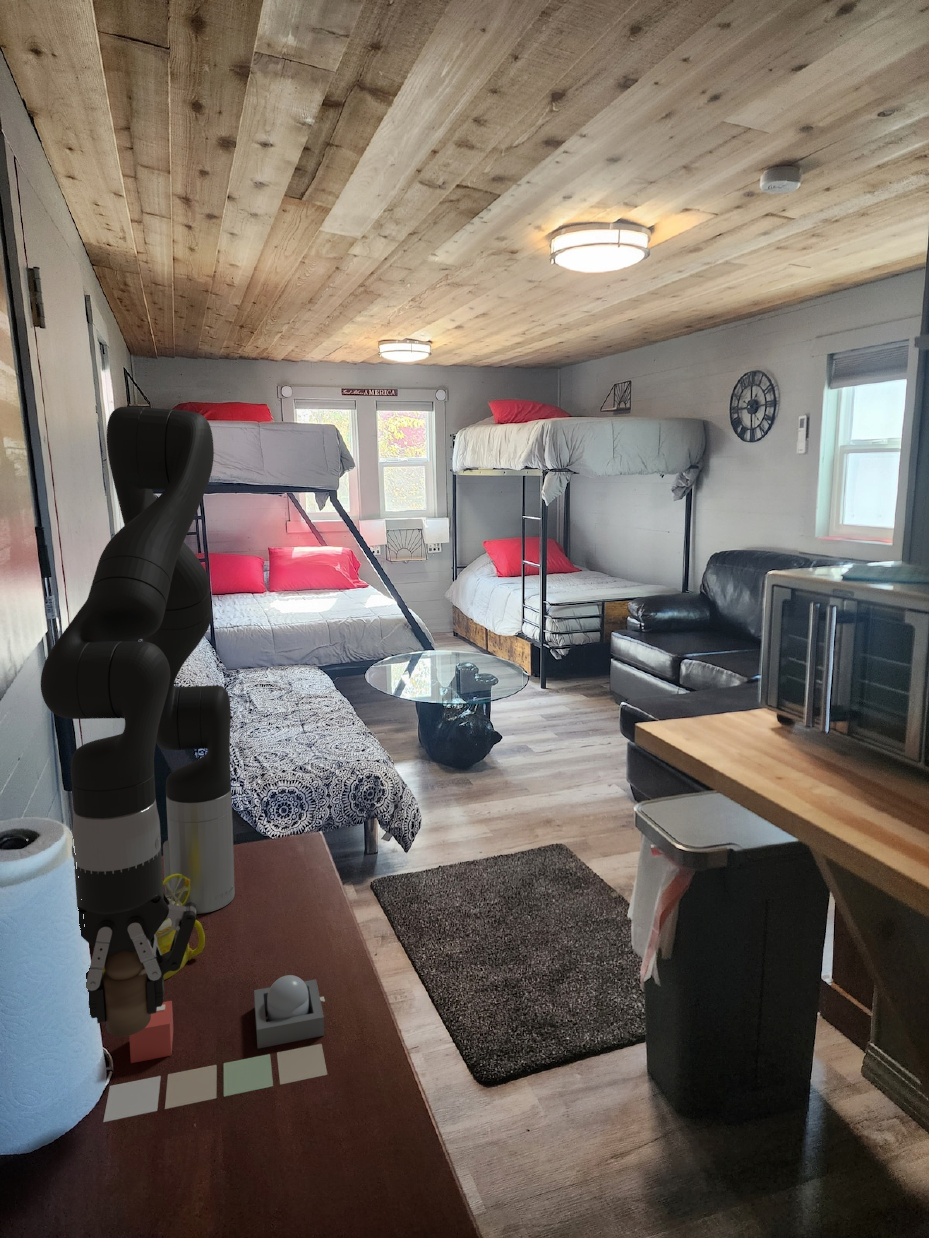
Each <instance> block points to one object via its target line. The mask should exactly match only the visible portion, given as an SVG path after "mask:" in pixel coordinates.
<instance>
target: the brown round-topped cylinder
mask: <svg viewBox="0 0 929 1238" xmlns="http://www.w3.org/2000/svg"><path fill="white" fill-rule="evenodd" d="M147 978H148V975H147V972H146V970H145V967H144V965H143V963H141V961H140V959H139V956H138V954H137V951H133V952H130V951H121V952H119V953H116V954H113V955H107V956H106V960H105V972H104V974H103V985H104V997H105V1012H106V1022H105V1025H106V1026H105V1029H106V1031H107V1033H108V1034H110V1035H111V1036H113V1037H119V1038H122V1037H129V1035H133V1034H135V1033H137V1032H139V1031H141V1030H142V1029H144V1028H145V1027H146V1026H147V1025H148V1024H149V1022H150V1020H151V1014H148V999H147Z"/></svg>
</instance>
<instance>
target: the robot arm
mask: <svg viewBox="0 0 929 1238" xmlns="http://www.w3.org/2000/svg"><path fill="white" fill-rule="evenodd" d="M106 448H107V449H106V451H107V457H108V463H109V467H110V472H111V476H112V480H113V485H114V489H115V493H116V497H117V501H118V504H119V505H118V506H119V508H120V513H121V517H122V522H123V524H124V525H123V526H122V527H121V528H120V530H118V531H117V532H116V533H115V534H114V535H113V536H112V537H111V539H109V541H108V543H106V545H105V548H104V549H103V551H102V553H101V554H100V557H99V560H98V562H97V566H96V568H95V573H94V576H93V579H92V582H91V586H90V589H89V593H88V597H87V599H86V601H85V602H84V604H83V605H82V606H81V607H80V609H79V610H78V611H77V612H76V615H75V616H74V617H73V619H72V620H71V621H70V623H69V624H68V626H67V627H66V628H65V629H64V631H63V632H62V633H61V635H60V636H59V637H58V639H57V641H56V642H55V643H54V645H53V646H52V648H51V649H50V651H49V653H48V655H47V657H46V660H45V661H44V664H43V667H42V671H41V676H40V692H41V696H42V699H43V702H44V703H45V704H46V706H47V708H48V709H49V710H50V711H51V712H52V713H53V714H54V715H56V716H58V717H60V718H64V719H71V720H84V719H85V720H86V719H87V720H88V719H89V720H90V719H91V720H92V719H94V720H95V719H124V728H123V732H122V733H119V734H116V735H112V736H108V737H107V736H106V737H104V738H103V737H102V738H100V739H99V738H98V739H96V740H92V741H89V742H87V743H84V744H82V745H81V746H79V747H78V748H77V749H76V750H74V752H73V754H72V756H71V760H70V778H71V792H72V806H73V807H72V808H73V820H72V832H71V833H72V835H71V838H72V836H73V838H72V841H73V839H74V846H75V853H76V855H75V853H74V848H73V844H72V845H71V854H72V855H71V856H72V858H73V867H74V866H75V869H74V879H75V881H74V882H75V893H76V894H75V895H76V908H77V907H78V909H79V910H78V911H79V924H80V925H79V926H80V928H81V929H80V930H81V936H80V937H81V938H82V939H83V940H84V941H85V942H87V943H88V944H89V945H90V946H91V947H92V948H93V953H92V956H91V960H90V963H89V964H90V965H89V966H90V968H89V971H88V972H87V973H86V979H87V982H86V988H87V989H88V990H87V989H86V988H85V989H86V990H87V993H88V992H89V1001H88V1009H89V1008H90V1014H89V1016H90V1015H91V1016H90V1018H91V1019H96V1023H97V1024H103V1023H106V1012H105V997H104V985H103V969H104V965H105V960H106V956H107V955H113V954H116V953H119V952H121V951H130V952H133V951H137V954H138V956H139V959H140V961H141V963H143V965H144V967H145V970H146V972H147V975H148V978H147V999H148V1014H154V1013H156V1011H157V1007H160V1006H162V1004H163V1002H164V999H165V980H164V974H165V973H167V972H168V971H176V970H178V969H179V968H180V966H181V963H182V960H183V957H184V954H185V951H186V948H187V945H188V942H189V943H190V939H191V935H192V933H193V930H194V928H195V927H194V924H195V921H196V920H197V919H196V918H197V915H198V914H199V915H200V914H207V913H211V912H214V911H217V910H219V909H223V908H224V907H226V906H227V905H229V904H230V903H231V902H232V901H233V899H234V898H235V894H236V893H235V863H234V862H235V861H234V859H235V857H234V835H233V834H234V833H233V831H234V830H233V806H232V804H233V803H232V802H233V801H232V779H231V777H232V776H231V756H230V755H231V752H230V749H231V748H230V746H231V720H232V719H231V701H230V695H229V693H228V691H227V689H226V688H225V687H224V686H222V685H193V686H175V682H176V679H177V677H178V674H179V672H180V671H181V669H182V667H183V665H184V664H185V662H186V661H187V659H188V658H189V657H190V656H191V655H192V654H193V652H194V651H195V650H196V648H197V647H198V646H199V644H200V643H201V641H202V640H203V639H204V636H205V635H206V633H207V631H208V629H209V628H210V624H211V622H212V615H213V614H212V613H213V612H212V600H211V589H210V580H209V576H208V572H207V571H206V568H205V566H204V565H203V564H202V562H201V561H200V559H199V558H198V556H197V555H196V554H195V553H194V551H192V549H191V548H190V547H189V546H188V544H187V543H186V542H185V539H186V537H187V535H188V532H189V531H190V529H191V526H192V524H193V521H194V520H195V517H196V515H197V512H198V511H199V507H200V505H201V503H202V500H203V498H204V495H205V493H206V490H207V488H208V485H209V482H210V480H211V475H212V471H213V465H214V453H215V449H214V438H213V432H212V428H211V426H210V422H209V421H208V419H207V418H206V417H205V416H204V415H202V414H200V413H198V412H194V411H188V410H184V409H183V410H181V409H169V408H168V409H167V408H155V407H146V406H143V407H142V406H120V407H117V408H115V409H113V410H112V412H111V413H110V415H109V417H108V420H107V426H106ZM153 490H161V491H162V493H161V494H160V495H159V496H158V497H157V498H156V497H155V494H154V491H153ZM139 640H141V641H139ZM156 745H157V746H158V747H159V748H160V749H162V750H166V751H181V750H183V751H184V750H185V751H187V750H201V749H206V750H207V752H206V753H205V754H204V755H203V756H202V757H200V758H198V759H196V760H194V761H193V762H191V763H187V764H186V765H183V766H180V767H178V768H176V769H174V770H173V771H171V772H170V773H169V774H168V776H167V777H166V780H165V796H166V797H165V799H166V801H165V802H166V818H167V820H166V821H167V837H168V838H167V840H165V841H164V843H163V844H161V842H162V838H161V822H160V815H159V811H158V807H157V806H158V805H157V800H156V782H155V780H156V779H155V778H156V777H155V754H156V753H155V752H156ZM162 853H163V855H162ZM162 856H163V859H162ZM162 860H163V861H162ZM76 862H77V869H76ZM163 873H164V874H163ZM172 874H181V875H183V876H185V877H187V879H190V893H189V896H188V898H187V900H186V902H185V903H184V905H183V906H179V905H173V904H170V903H169V900H168V899H169V897H170V899H171V898H172V900H173V901H175V899H174V897H172V896H173V895H171V894H170V893H171V892H170V891H169V890H168V888H167V887H166V886H165V885H164V886H163V880H165V879H166V878H167V877H168V876H170V875H172ZM163 875H164V879H163ZM78 876H79V878H78ZM176 880H177V877H174V878H172V879H170V880H169V881H168V884H169V886H170V888H171V890H172V891H173V892H174V893H176V894H175V896H176V897H177V898H178V896H179V894H180V893H177V892H175V889H176V886H177V884H178V882H177V884H176V886H175V888H174V885H175V883H176ZM178 881H179V880H178ZM184 881H185V880H184V879H183V878H182V879H181V881H180V883H179V885H178V887H177V889H176V891H177V890H179V889H181V888H183V886H184ZM173 888H174V890H173ZM178 892H179V891H178ZM167 894H169V895H171V896H169V897H166V896H165V895H167ZM185 894H186V891H184V892H183V894H182V895H181V897H180V899H179V901H180V902H181V901H182V900H183V899H184V896H185ZM167 896H168V895H167ZM167 898H168V899H167ZM81 899H82V900H81ZM83 914H84V919H83ZM166 918H169V919H171V921H172V924H171V926H172V928H173V929H174V930H176V932H175V935H174V938H173V941H172V944H171V947H170V951H169V952H167V953H164V954H161V952H160V949H159V946H158V943H157V937H156V935H155V933H156V932H157V930H158V929H159V928H160V926H161V925H162V923H163V922H164V920H165V919H166ZM84 924H85V927H84Z"/></svg>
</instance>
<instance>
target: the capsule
mask: <svg viewBox="0 0 929 1238" xmlns="http://www.w3.org/2000/svg"><path fill="white" fill-rule="evenodd" d="M304 981H305V980H303V979H302V978H300V977H298V976H296V975H292V974H287V975H284V976H281V977H279V978H277V979H276V980H275V981H274V982H273V983H272V985H271V986H270V989H269V992H268V996H267V1010H268V1011H267V1022H269V1021H275V1020H280V1019H285V1018H291V1017H296V1016H302V1015H307V1014H310V1006H309V996H308V989H307V986H306V984H305V983H304Z"/></svg>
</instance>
